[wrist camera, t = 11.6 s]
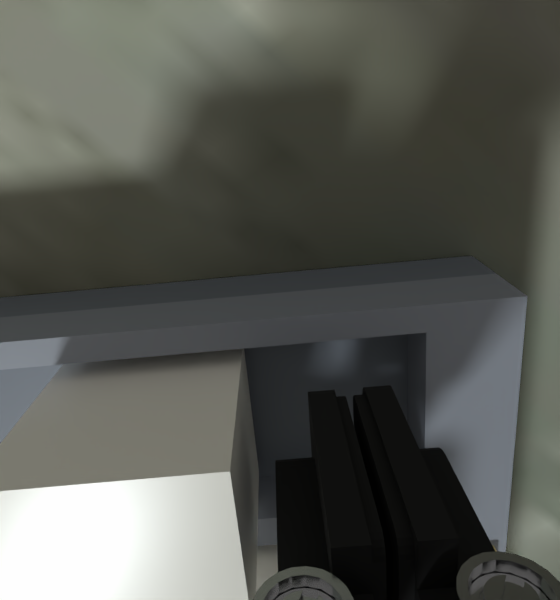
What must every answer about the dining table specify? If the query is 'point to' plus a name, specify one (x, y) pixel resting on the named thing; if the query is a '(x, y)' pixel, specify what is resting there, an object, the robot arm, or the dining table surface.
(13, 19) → the dining table surface
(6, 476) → the white cube
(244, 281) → the switch bank
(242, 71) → the dining table surface
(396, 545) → the robot arm
